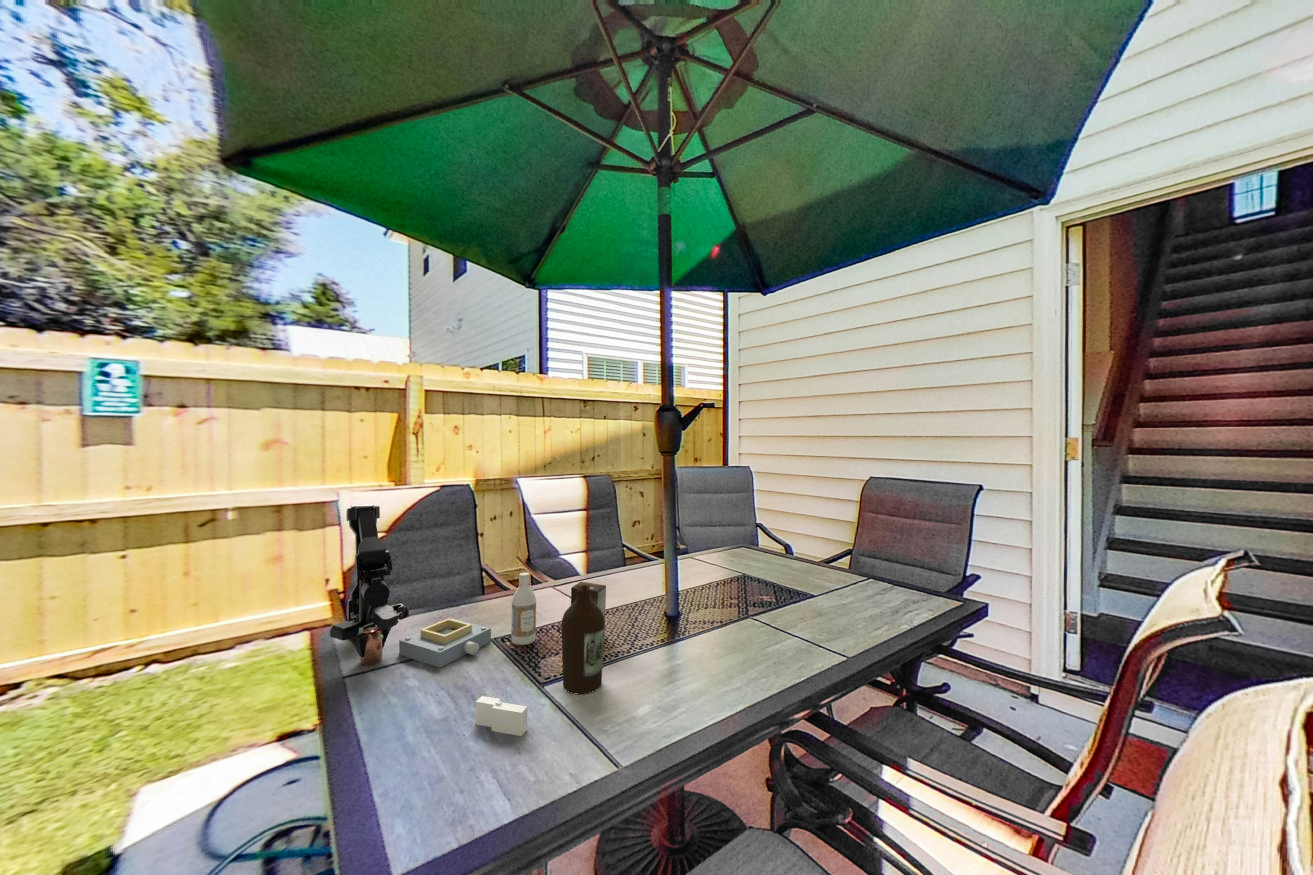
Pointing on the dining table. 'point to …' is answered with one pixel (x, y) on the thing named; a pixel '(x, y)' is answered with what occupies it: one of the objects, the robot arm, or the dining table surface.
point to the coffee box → (593, 596)
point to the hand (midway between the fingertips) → (371, 652)
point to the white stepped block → (501, 716)
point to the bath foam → (523, 613)
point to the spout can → (372, 646)
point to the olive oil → (582, 643)
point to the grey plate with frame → (445, 642)
